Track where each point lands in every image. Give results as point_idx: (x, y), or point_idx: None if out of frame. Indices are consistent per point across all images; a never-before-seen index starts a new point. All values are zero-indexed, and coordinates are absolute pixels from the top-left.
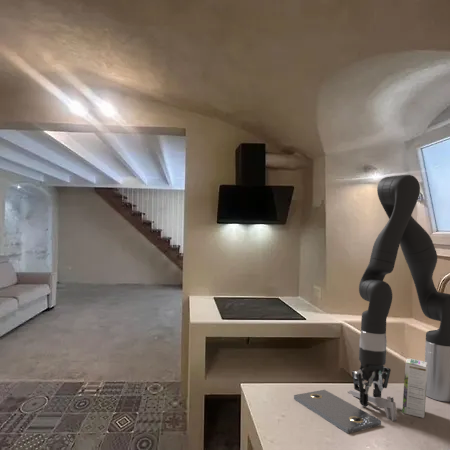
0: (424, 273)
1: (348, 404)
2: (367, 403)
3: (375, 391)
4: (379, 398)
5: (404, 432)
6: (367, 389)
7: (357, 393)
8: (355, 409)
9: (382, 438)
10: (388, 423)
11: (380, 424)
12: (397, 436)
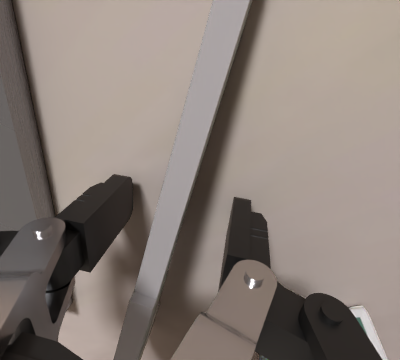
0: None
1: (4, 163)
2: (120, 226)
3: (224, 264)
4: (122, 328)
5: (114, 352)
6: (50, 307)
7: (192, 82)
8: (11, 218)
9: None
10: (112, 311)
11: (68, 304)
12: (73, 346)
